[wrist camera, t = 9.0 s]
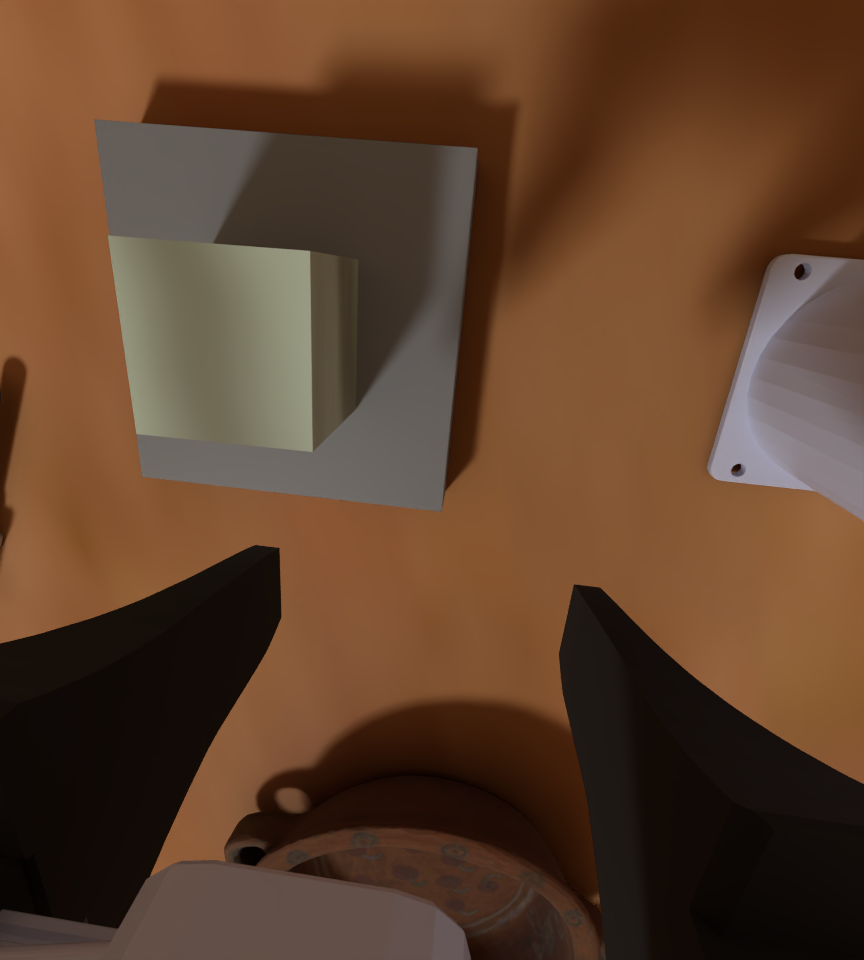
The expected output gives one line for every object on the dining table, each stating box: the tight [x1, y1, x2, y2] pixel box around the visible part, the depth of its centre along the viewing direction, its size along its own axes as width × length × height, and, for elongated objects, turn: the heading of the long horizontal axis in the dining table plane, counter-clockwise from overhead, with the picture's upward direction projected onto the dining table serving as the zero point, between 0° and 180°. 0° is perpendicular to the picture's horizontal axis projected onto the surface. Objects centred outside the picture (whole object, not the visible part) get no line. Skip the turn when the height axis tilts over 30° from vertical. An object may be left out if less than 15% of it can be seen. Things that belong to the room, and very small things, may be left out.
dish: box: [224, 775, 606, 960], centre depth 28 cm, size 18×22×5 cm
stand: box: [94, 120, 478, 512], centre depth 19 cm, size 12×12×2 cm
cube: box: [108, 236, 359, 452], centre depth 15 cm, size 5×5×5 cm
